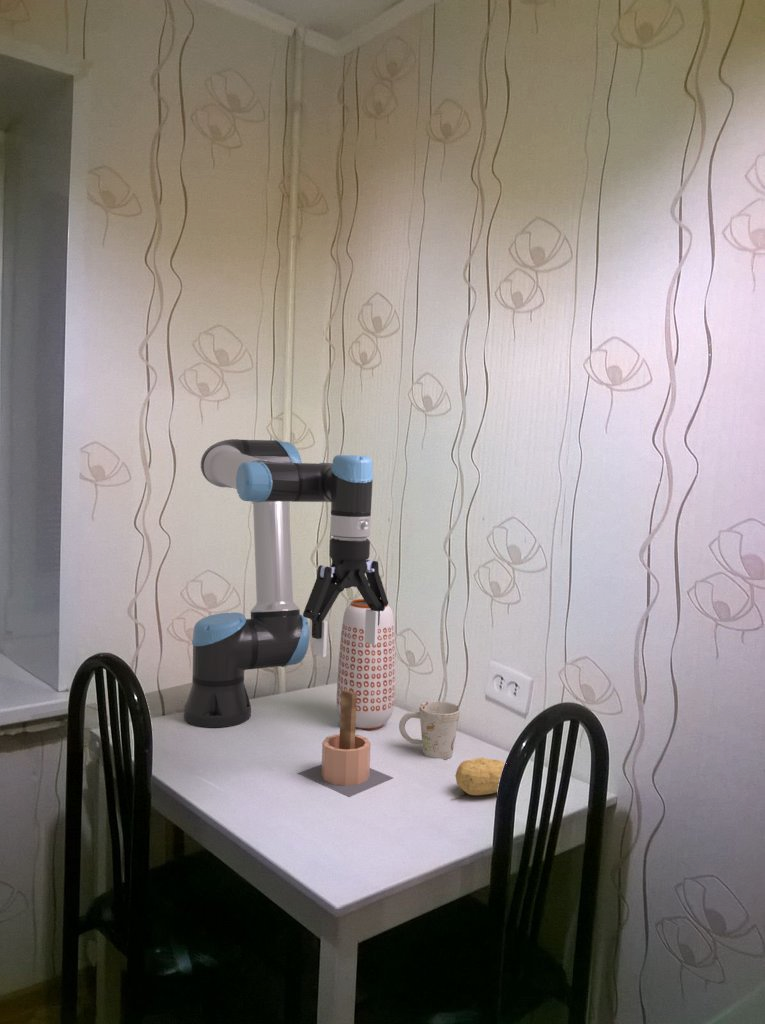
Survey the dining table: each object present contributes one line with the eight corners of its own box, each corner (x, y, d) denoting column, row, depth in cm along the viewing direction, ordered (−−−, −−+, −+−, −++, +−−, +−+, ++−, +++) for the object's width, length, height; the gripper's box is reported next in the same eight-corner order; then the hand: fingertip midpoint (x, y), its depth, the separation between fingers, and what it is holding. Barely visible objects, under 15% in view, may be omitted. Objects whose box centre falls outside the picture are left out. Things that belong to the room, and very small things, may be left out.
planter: (324, 721, 178) (327, 600, 176) (367, 710, 187) (371, 594, 184) (361, 738, 168) (366, 610, 166) (406, 725, 177) (410, 603, 175)
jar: (312, 774, 147) (313, 741, 147) (345, 762, 154) (346, 730, 153) (345, 789, 141) (346, 755, 141) (378, 776, 148) (379, 742, 147)
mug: (455, 764, 156) (457, 715, 155) (394, 757, 158) (395, 709, 157) (459, 749, 164) (461, 703, 163) (401, 743, 166) (403, 697, 165)
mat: (297, 775, 148) (297, 773, 148) (342, 758, 157) (342, 756, 157) (349, 799, 138) (349, 796, 138) (393, 779, 147) (393, 777, 147)
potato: (448, 788, 144) (449, 755, 144) (502, 782, 148) (504, 750, 147) (462, 803, 138) (463, 769, 138) (518, 798, 141) (520, 764, 141)
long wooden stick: (329, 769, 147) (332, 691, 147) (346, 764, 151) (349, 687, 150) (345, 776, 144) (348, 695, 144) (362, 770, 148) (365, 692, 147)
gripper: (314, 544, 133) (310, 665, 135) (408, 536, 151) (404, 642, 153) (285, 539, 138) (282, 656, 140) (380, 532, 156) (376, 635, 158)
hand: (346, 649), depth 147 cm, fingers open, 13 cm apart
